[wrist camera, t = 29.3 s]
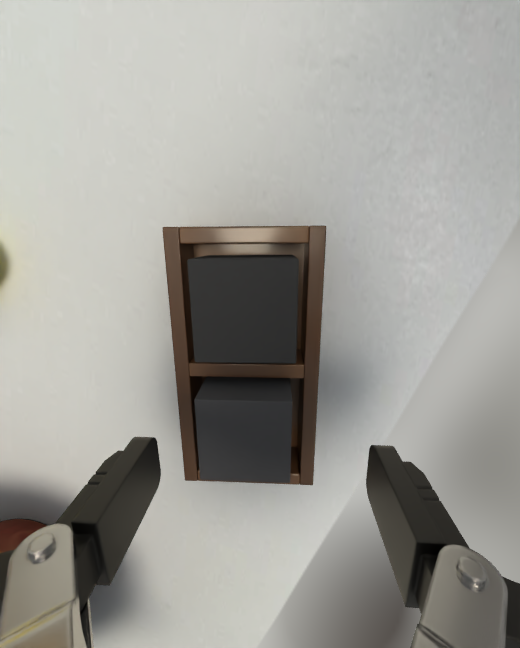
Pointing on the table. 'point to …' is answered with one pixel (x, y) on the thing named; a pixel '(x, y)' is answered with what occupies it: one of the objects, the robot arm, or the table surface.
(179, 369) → the back frame
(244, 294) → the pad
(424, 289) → the table surface
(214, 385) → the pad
